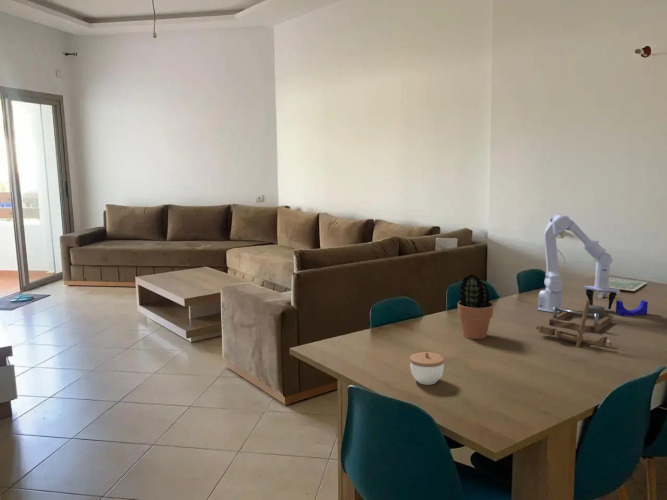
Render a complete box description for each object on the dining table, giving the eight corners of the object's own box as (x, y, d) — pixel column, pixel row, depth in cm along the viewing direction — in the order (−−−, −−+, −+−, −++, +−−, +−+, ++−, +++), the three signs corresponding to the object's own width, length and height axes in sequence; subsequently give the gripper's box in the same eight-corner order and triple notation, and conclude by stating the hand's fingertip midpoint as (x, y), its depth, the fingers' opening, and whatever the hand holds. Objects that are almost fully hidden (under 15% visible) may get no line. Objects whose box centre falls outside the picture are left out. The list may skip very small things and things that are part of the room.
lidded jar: (406, 375, 180) (406, 347, 179) (438, 373, 181) (439, 346, 179) (414, 388, 169) (414, 359, 168) (448, 386, 170) (448, 357, 169)
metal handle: (551, 323, 234) (552, 307, 232) (553, 322, 235) (554, 306, 234) (597, 331, 221) (598, 314, 220) (598, 330, 222) (599, 313, 221)
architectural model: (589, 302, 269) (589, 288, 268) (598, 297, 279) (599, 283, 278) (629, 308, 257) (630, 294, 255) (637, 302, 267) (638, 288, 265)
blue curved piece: (619, 316, 243) (620, 302, 242) (615, 313, 248) (616, 300, 247) (648, 316, 242) (649, 302, 241) (643, 313, 246) (644, 300, 245)
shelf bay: (549, 325, 232) (549, 319, 231) (566, 315, 246) (566, 309, 245) (594, 333, 219) (595, 327, 219) (610, 322, 233) (610, 316, 233)
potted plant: (493, 341, 211) (495, 278, 208) (457, 340, 214) (458, 277, 210) (491, 331, 225) (492, 271, 221) (456, 330, 227) (457, 270, 224)
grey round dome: (581, 315, 245) (582, 307, 245) (587, 311, 251) (588, 304, 250) (600, 318, 240) (601, 310, 239) (606, 314, 246) (607, 307, 245)
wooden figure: (608, 305, 197) (539, 289, 212) (597, 353, 197) (529, 334, 213) (617, 307, 208) (551, 292, 223) (607, 352, 208) (541, 334, 224)
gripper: (582, 278, 250) (581, 307, 252) (618, 281, 241) (616, 311, 243) (586, 275, 256) (585, 303, 258) (621, 278, 247) (619, 308, 249)
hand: (600, 307), depth 251 cm, fingers open, 7 cm apart
